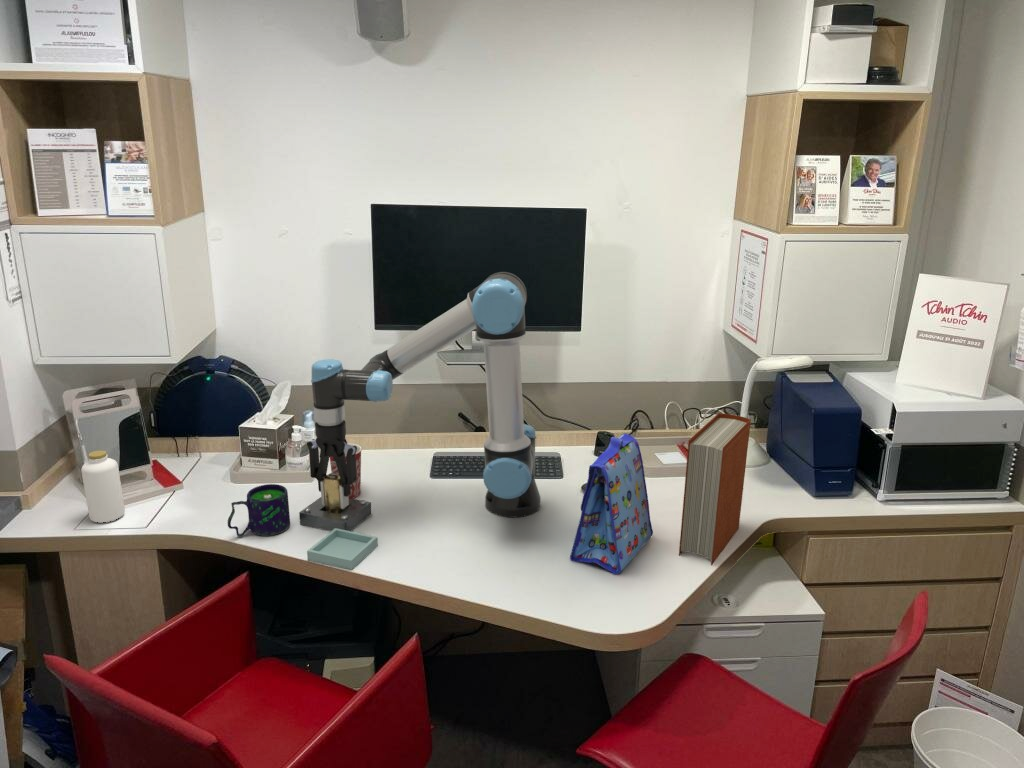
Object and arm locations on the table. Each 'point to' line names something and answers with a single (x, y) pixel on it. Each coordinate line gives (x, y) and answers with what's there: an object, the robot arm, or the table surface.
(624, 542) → the lunch bag
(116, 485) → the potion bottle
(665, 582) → the table surface
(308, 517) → the housing
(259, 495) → the mug
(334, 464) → the mug
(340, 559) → the tray
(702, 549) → the book
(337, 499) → the brass cylinder
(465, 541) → the table surface
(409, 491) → the table surface
